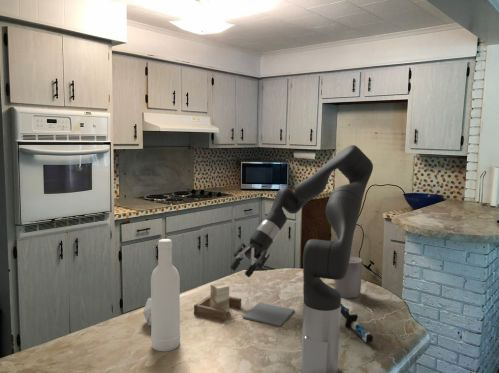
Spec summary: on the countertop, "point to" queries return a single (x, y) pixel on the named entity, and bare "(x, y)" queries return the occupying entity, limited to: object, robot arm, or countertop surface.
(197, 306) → the stall
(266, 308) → the pad
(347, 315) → the knife
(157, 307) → the bottle
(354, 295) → the pillar candle
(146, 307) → the die
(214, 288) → the ash block
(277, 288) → the countertop surface
